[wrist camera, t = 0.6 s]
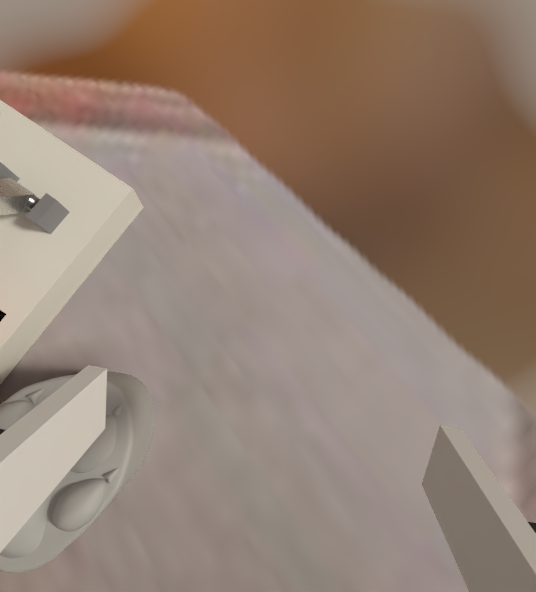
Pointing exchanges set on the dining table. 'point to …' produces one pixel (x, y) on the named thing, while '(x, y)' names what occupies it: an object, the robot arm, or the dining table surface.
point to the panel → (51, 229)
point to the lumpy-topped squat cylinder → (81, 469)
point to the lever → (15, 197)
